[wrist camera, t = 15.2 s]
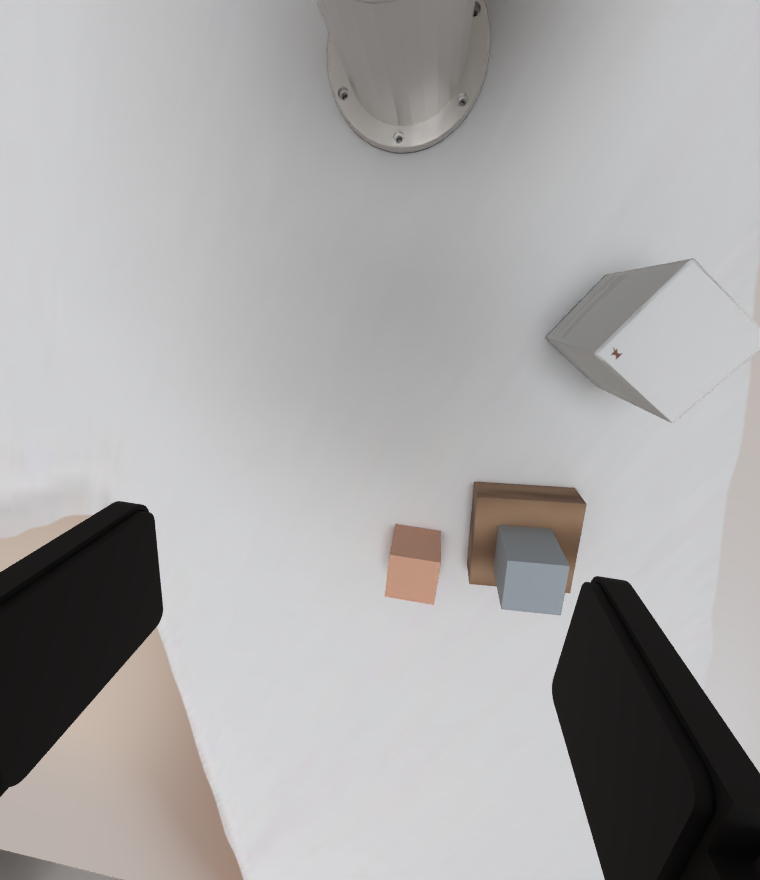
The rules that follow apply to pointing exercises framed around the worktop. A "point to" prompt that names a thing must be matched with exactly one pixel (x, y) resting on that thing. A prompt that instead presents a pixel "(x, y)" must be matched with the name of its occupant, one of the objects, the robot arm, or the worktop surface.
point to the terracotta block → (414, 564)
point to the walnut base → (521, 522)
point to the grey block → (530, 570)
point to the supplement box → (658, 336)
